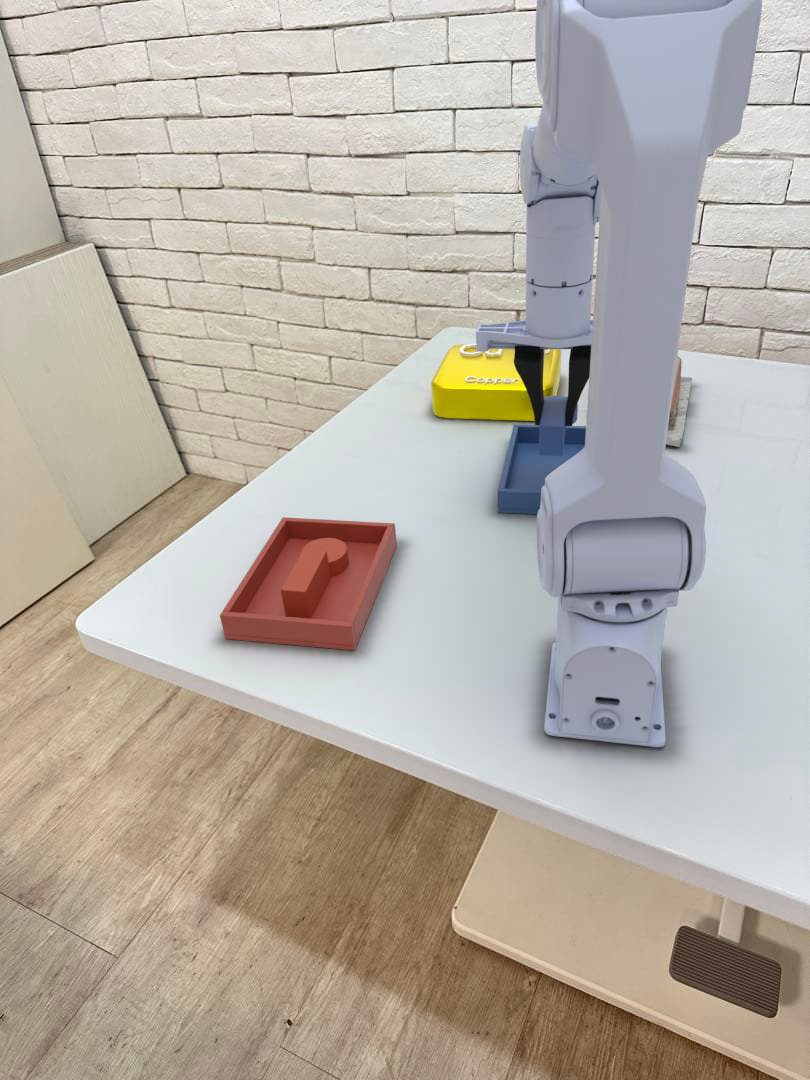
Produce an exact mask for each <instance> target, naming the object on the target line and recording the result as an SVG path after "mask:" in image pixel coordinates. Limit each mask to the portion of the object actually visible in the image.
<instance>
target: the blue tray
mask: <svg viewBox="0 0 810 1080" xmlns="http://www.w3.org/2000/svg"><path fill="white" fill-rule="evenodd" d="M539 426H540V425H535V424H521V423H520V424H518V423H517V424H515V423H514V424H513V425H512V431H511V434H510V438H509V442H508V447H507V451H506V456H505V459H504V462H503V463H504V464H503V467H502V472H501V475H500V476H501V477H500V480H499V483H498V489H497V513H501V514H519V515H520V514H521V515H523V514H524V515H537V514H538V511H539V509H540V503H541V489H542V487H543V486H544V485H545V478H546V477H547V476H548V475H549V474H550V473H551V472H553V471H554V470H555V469H557V468H558V467H559V466H561V465H562V464H564V463H565V462H566V461H568V460H569V459H571V458H572V457H573V456H575V455H576V454H577V453H579V452H580V451H581V450H582V449H583V448H584V447H585V437H586V425H572V426H566V432H565V440H564V449H563V456H549V455H539Z"/></svg>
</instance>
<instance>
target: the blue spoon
mask: <svg viewBox="0 0 810 1080" xmlns="http://www.w3.org/2000/svg"><path fill="white" fill-rule="evenodd" d="M567 398H568V396H562V395H557V396H550V397H545V398H544V403H543V409H542V414H541V420H540V426H539V455H549V456H563V449H564V440H565V432H566V426H565V416H566V406H567ZM578 409H579V404H578V403H577V406H576V410H575V413H574V417H573V424H572V425H575V423H576V422H577V420H578Z"/></svg>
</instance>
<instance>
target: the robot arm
mask: <svg viewBox="0 0 810 1080" xmlns="http://www.w3.org/2000/svg"><path fill="white" fill-rule="evenodd" d="M535 7H536V8H535V30H534V31H535V37H534V38H535V39H534V44H535V46H534V50H535V52H534V53H535V72H536V73H535V75H536V81H537V88H538V91H539V94H540V95H541V99H542V106H541V110H540V114H539V117H538V120H537V124H536V125H535V124H534V123H528V124H525V125H524V128H523V132H522V136H521V142H520V148H519V180H520V182H519V183H520V189H521V195H522V199H523V203H524V205H526V218H525V219H526V223H525V225H526V228H525V230H526V231H525V233H526V234H525V320H517V321H507V322H498V323H487V324H486V323H485V324H484V323H483V324H481V323H480V324H478V326H477V328H476V331H475V344H476V351H483V352H485V351H488V350H489V349H515V357H514V365H515V368H516V370H517V372H518V374H519V376H520V377H521V379H522V381H523V383H524V385H525V388H526V390H527V393H528V395H529V398H530V401H531V405H532V408H533V413H534V419H535V421H534V425H540V420H541V414H542V409H543V403H544V393H543V366H544V349H560V350H570V351H569V359H568V380H567V381H568V383H567V385H568V386H567V397H568V398H567V406H566V416H565V426H573V425H574V424H573V417H574V413H575V410H576V406H577V404H578V403H579V400H580V398H581V396H582V393H583V391H584V388H585V387H586V385H587V383H588V389H587V390H588V391H587V406H586V408H587V409H586V420H585V421H586V423H585V426H586V437H585V447H584V448H583V449H582V450H581V451H580V452H579V453H577V454H576V455H575V456H573V457H572V458H571V459H569V460H568V461H566V462H565V463H564V464H562V465H561V466H559V467H558V468H557V469H555V470H554V471H553V472H551V473H550V474H549V475H548V476H547V477H546V478H545V485H544V486H543V487H542V489H541V503H540V509H539V511H538V514H536V523H535V525H536V526H535V527H536V528H535V529H536V530H535V531H536V532H535V539H536V540H535V543H536V558H537V559H536V560H537V565H538V566H537V569H538V575H539V581H540V585H541V588H542V589H543V590H544V591H546V593H548V595H549V596H550V597H551V598H557V607H556V608H557V610H556V633H555V635H556V636H555V641H554V642H553V643H552V645H551V652H550V653H551V654H550V664H549V665H550V666H549V675H548V683H547V692H546V693H547V694H546V704H545V714H544V724H543V731H544V733H545V734H546V735H548V736H551V737H552V736H553V737H561V738H568V739H569V738H570V739H577V740H578V739H580V740H587V741H597V742H607V743H615V744H626V745H634V746H641V747H642V746H643V747H651V748H663V747H664V746H665V745H666V739H667V738H666V737H667V736H666V721H665V720H666V719H665V709H664V693H663V691H664V690H663V678H662V676H663V675H662V662H661V661H662V659H661V658H662V651H663V644H664V637H665V629H666V622H667V615H668V608H671V607H672V608H673V607H677V606H678V601H679V594H680V591H683V592H687V591H691V590H692V589H694V587H695V586H696V585H697V583H698V581H699V580H700V579H701V577H702V576H703V572H704V569H705V564H706V558H707V557H706V556H707V555H706V554H707V543H706V542H707V540H706V539H707V538H706V530H705V527H706V526H705V525H706V513H707V503H706V499H705V497H704V494H703V492H702V489H701V488H700V485H699V483H698V481H697V479H696V477H695V476H694V474H693V473H692V472H691V471H690V470H689V469H688V468H686V467H685V466H684V465H682V464H681V463H680V462H678V461H677V460H675V459H673V458H672V457H670V456H669V455H667V454H666V453H665V452H666V445H667V444H666V439H667V431H668V424H669V416H670V408H671V401H672V393H673V385H674V378H675V370H676V362H677V356H678V355H679V347H680V338H681V331H682V330H681V329H682V323H683V318H684V317H683V315H684V308H685V301H686V294H687V285H688V278H689V271H690V270H689V269H690V262H691V254H692V247H693V239H694V233H695V232H694V231H695V225H696V217H697V210H698V203H699V199H700V194H701V189H702V185H703V180H704V177H705V171H706V166H707V161H708V157H709V155H710V154H711V153H713V152H714V151H716V150H718V149H719V148H720V147H722V146H724V145H725V144H727V143H728V142H730V141H731V140H733V139H734V138H736V137H737V136H738V135H740V133H741V130H742V123H743V118H744V112H745V109H746V108H747V105H748V101H749V96H750V90H751V85H752V84H751V82H752V77H753V71H754V70H753V69H754V64H755V57H756V50H757V46H758V45H757V44H758V39H759V38H758V37H759V32H760V25H761V19H762V11H763V10H762V9H763V0H536V6H535ZM596 224H598V236H597V251H596V252H597V253H596V266H595V281H594V282H595V283H594V284H595V286H594V297H593V296H592V295H593V278H594V262H595V261H594V260H595V243H596V242H595V241H596ZM592 297H593V298H594V299H593V311H592ZM592 312H593V314H592V315H591V313H592ZM591 317H592V319H591Z"/></svg>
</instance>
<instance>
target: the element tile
mask: <svg viewBox="0 0 810 1080" xmlns="http://www.w3.org/2000/svg"><path fill="white" fill-rule="evenodd" d="M514 357H515V349H489V350H488V351H485V352H483V351H476V343H467V344H465V343H464V344H463V343H462V344H461V343H459V344H455V345H452V346H451V347H450V348H449V349H448V350H447V351H446V354H445V355H444V357H443V359H442V361H441V363H440V364H439V366H438V368H437V370H436V372H435V374H434V376H433V378H432V380H431V383H430V387H431V388H430V390H431V403H432V412H433V414H434V415H435V416H436V417H438V418H442V419H450V420H451V419H453V420H454V419H455V420H480V421H481V420H485V421H487V420H488V421H511V422H513V421H517V422H535V419H534V413H533V408H532V405H531V401H530V398H529V395H528V393H527V390H526V388H525V385H524V383H523V381H522V379H521V377H520V376H519V374H518V372H517V370H516V368H515V365H514ZM561 367H562V349H544V366H543V393H544V398H545V397H550V396H558V390H559V387H560V383H561V382H560V381H561V369H562V368H561Z"/></svg>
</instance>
